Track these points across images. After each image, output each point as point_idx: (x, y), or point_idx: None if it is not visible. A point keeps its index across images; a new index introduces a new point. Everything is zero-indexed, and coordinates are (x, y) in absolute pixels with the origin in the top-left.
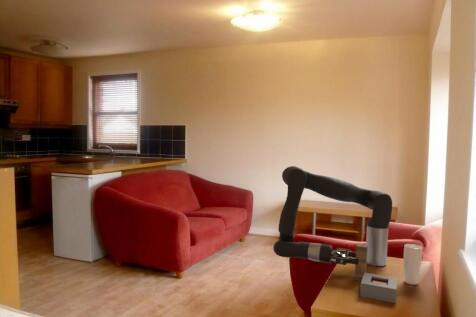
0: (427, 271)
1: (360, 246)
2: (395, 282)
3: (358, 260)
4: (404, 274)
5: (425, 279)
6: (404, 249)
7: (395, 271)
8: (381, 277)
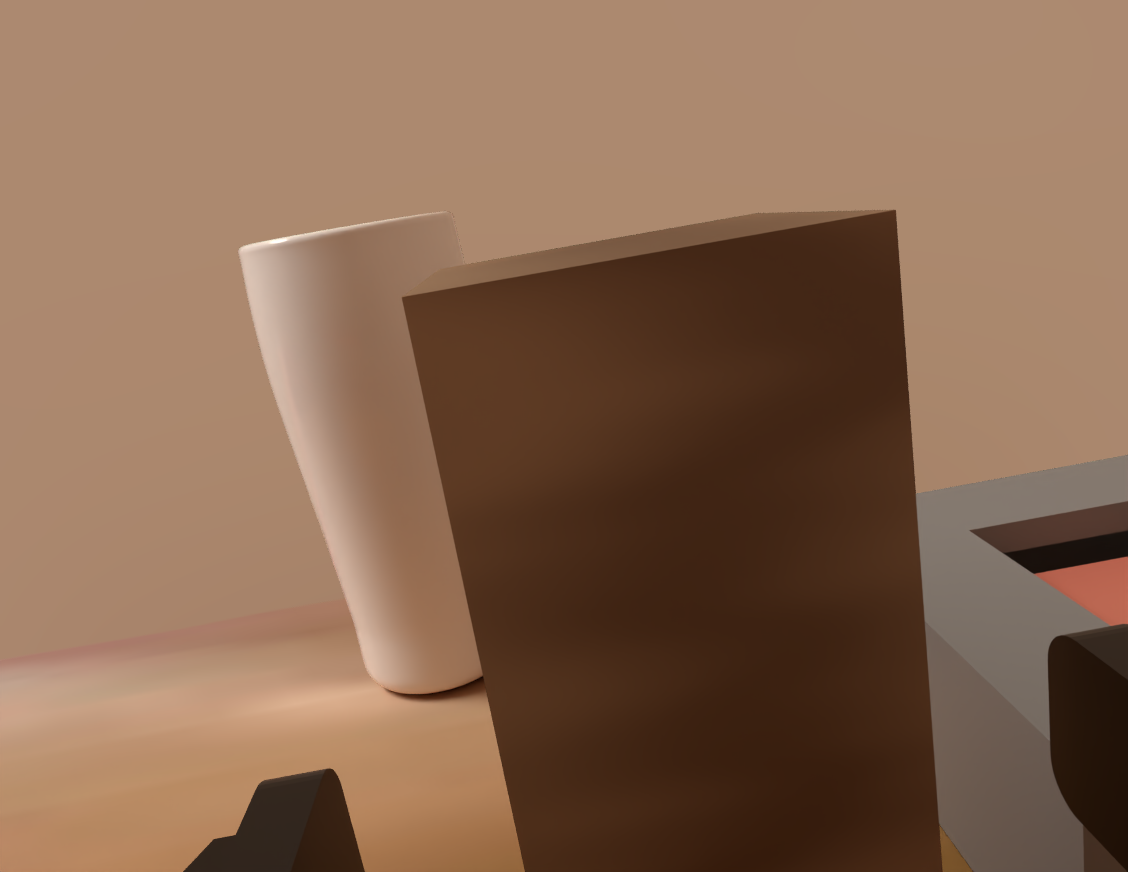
0: (31, 661)
1: (826, 212)
2: (999, 486)
3: (1076, 653)
4: (445, 605)
5: (287, 626)
6: (375, 280)
7: (45, 840)
8: (1000, 576)
